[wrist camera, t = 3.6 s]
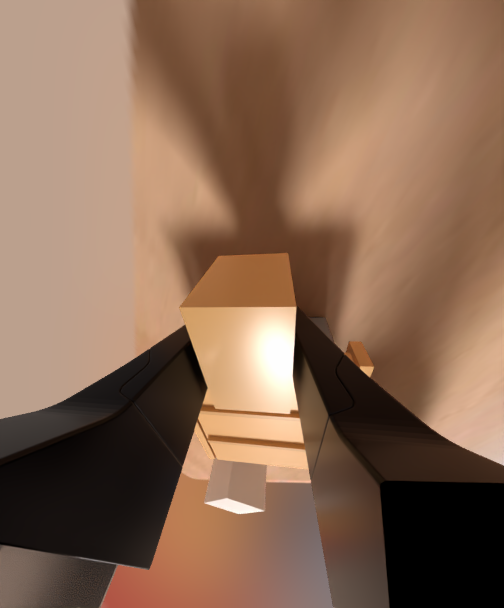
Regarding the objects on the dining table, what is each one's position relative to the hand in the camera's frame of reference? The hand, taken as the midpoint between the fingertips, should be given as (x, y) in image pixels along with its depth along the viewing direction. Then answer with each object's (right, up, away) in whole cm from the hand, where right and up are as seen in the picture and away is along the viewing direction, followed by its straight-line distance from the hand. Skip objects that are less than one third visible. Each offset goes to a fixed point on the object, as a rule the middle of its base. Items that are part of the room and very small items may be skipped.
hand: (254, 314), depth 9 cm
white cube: (-2, -23, +22) cm, 32 cm away
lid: (+1, -5, +4) cm, 7 cm away
